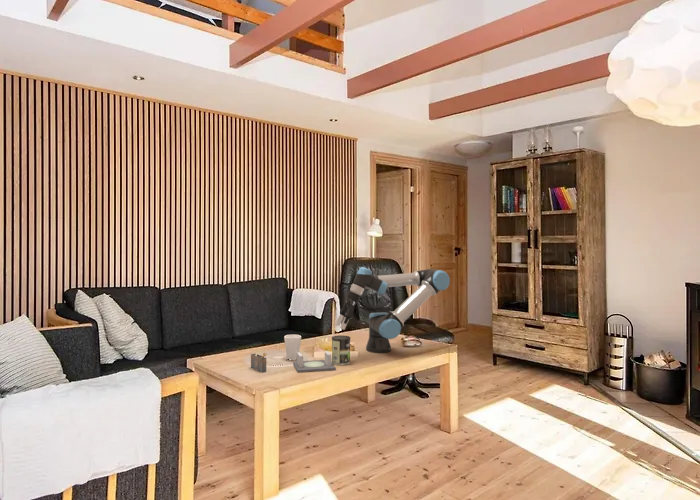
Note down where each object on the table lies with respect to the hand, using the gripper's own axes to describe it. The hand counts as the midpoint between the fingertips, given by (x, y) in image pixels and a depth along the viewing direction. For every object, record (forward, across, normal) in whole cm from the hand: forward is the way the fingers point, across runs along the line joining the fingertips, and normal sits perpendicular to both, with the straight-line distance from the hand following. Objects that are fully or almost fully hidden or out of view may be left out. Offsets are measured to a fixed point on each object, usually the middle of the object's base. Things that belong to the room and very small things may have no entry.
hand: (339, 327), depth 272 cm
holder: (+24, +13, -7) cm, 28 cm away
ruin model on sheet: (+37, +12, -32) cm, 51 cm away
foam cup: (+28, -6, -15) cm, 32 cm away
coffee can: (+17, +7, +8) cm, 20 cm away
